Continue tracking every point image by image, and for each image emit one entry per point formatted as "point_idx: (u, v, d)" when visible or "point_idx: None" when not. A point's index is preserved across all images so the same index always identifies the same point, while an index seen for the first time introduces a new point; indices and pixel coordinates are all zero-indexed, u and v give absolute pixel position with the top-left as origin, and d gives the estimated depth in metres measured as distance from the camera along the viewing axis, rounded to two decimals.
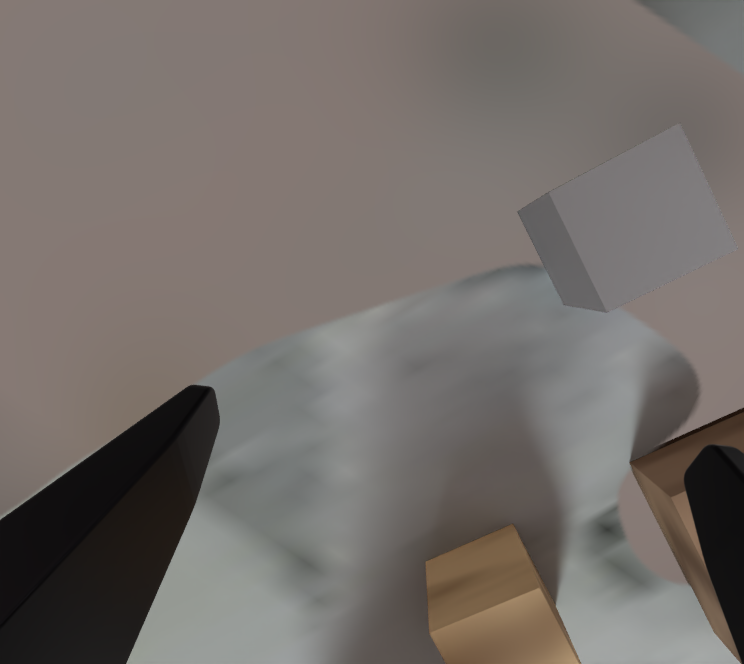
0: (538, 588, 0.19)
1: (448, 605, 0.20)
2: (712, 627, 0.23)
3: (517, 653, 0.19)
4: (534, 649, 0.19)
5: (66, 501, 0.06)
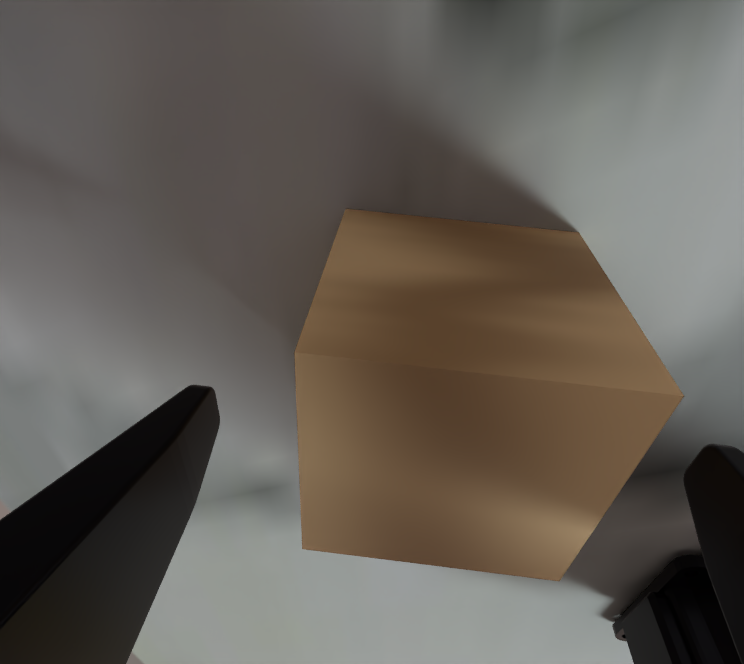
0: (298, 354, 0.06)
1: None
2: None
3: (442, 471, 0.07)
4: (459, 443, 0.07)
5: (66, 501, 0.06)
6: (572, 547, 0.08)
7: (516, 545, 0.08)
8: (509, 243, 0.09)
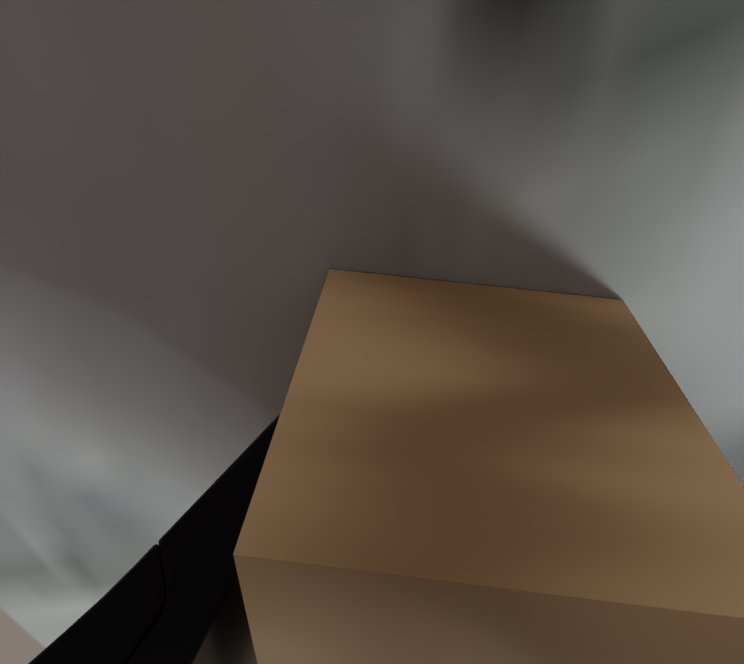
0: (239, 554, 0.04)
1: None
2: None
3: None
4: (481, 653, 0.05)
5: (218, 520, 0.06)
6: None
7: None
8: (538, 323, 0.07)
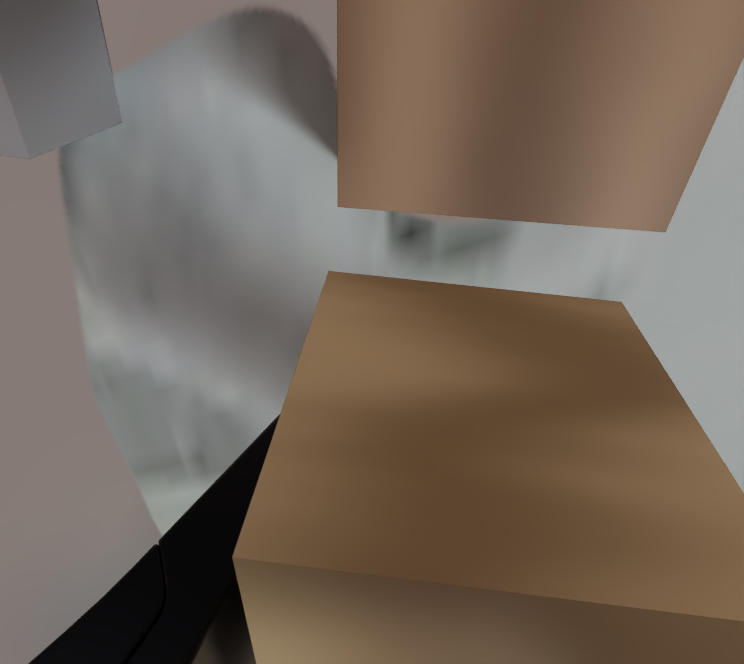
0: (238, 557, 0.04)
1: None
2: None
3: None
4: (479, 654, 0.05)
5: (219, 520, 0.06)
6: None
7: None
8: (537, 325, 0.07)
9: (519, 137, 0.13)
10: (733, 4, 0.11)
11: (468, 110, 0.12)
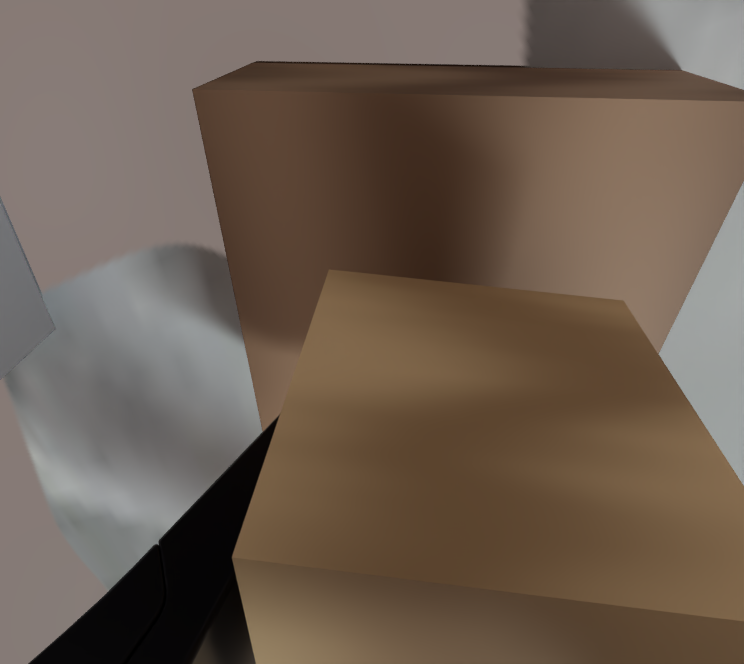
0: (238, 557, 0.04)
1: None
2: None
3: None
4: (481, 655, 0.05)
5: (218, 520, 0.06)
6: None
7: None
8: (539, 324, 0.07)
9: None
10: (640, 319, 0.10)
11: None
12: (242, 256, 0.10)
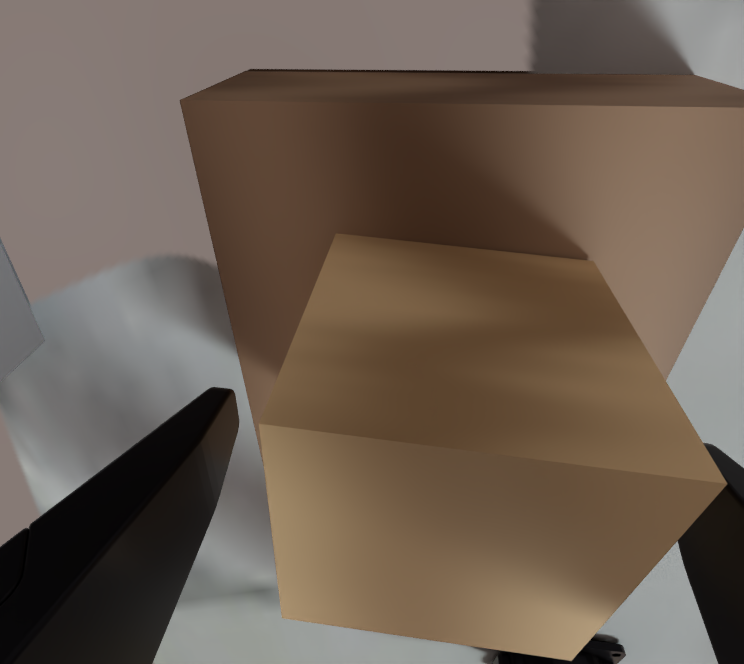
0: (263, 425, 0.05)
1: None
2: None
3: (436, 550, 0.06)
4: (455, 522, 0.06)
5: (96, 505, 0.06)
6: (587, 629, 0.07)
7: (522, 625, 0.07)
8: (516, 277, 0.08)
9: None
10: (652, 334, 0.10)
11: None
12: (235, 272, 0.10)
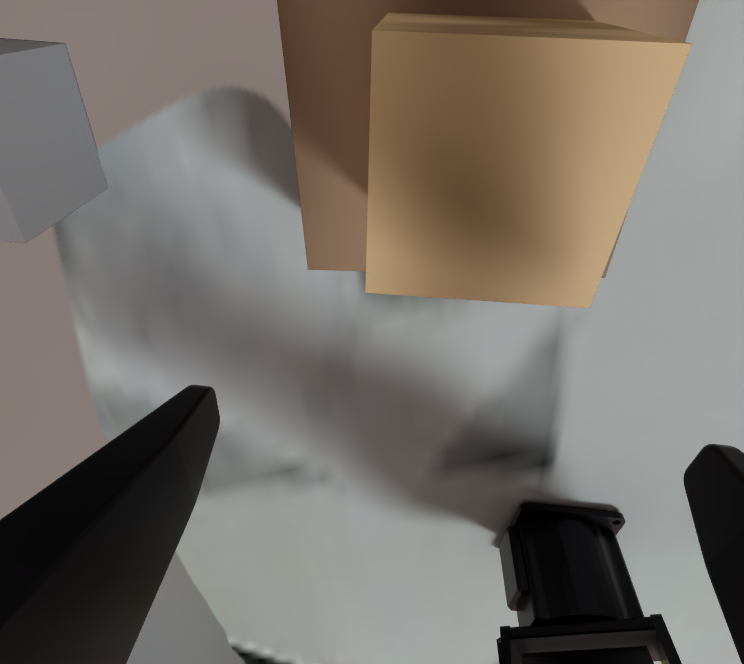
0: (374, 34, 0.07)
1: None
2: None
3: (490, 168, 0.09)
4: (504, 129, 0.08)
5: (66, 501, 0.06)
6: (600, 259, 0.09)
7: (551, 263, 0.10)
8: (535, 21, 0.10)
9: None
10: None
11: None
12: (295, 44, 0.12)
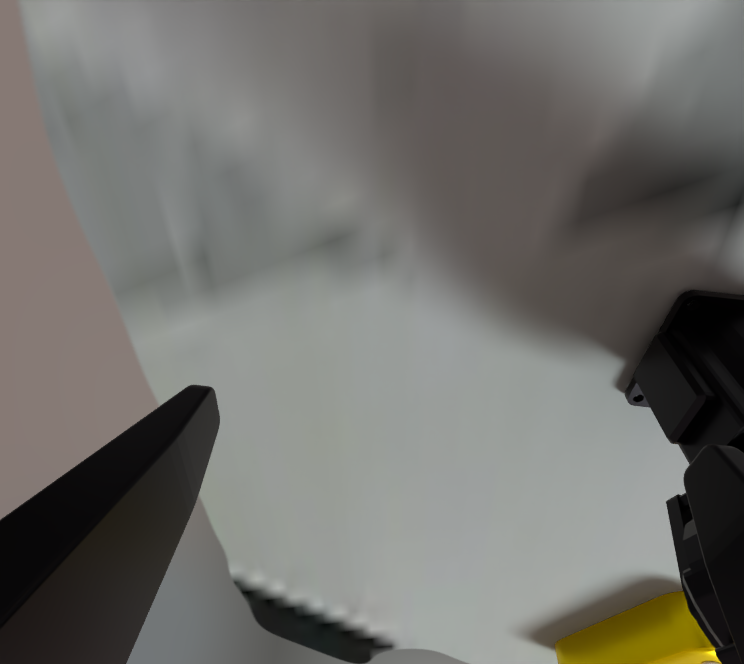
0: None
1: None
2: None
3: None
4: None
5: (66, 501, 0.06)
6: None
7: None
8: None
9: None
10: None
11: None
12: None
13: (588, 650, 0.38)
